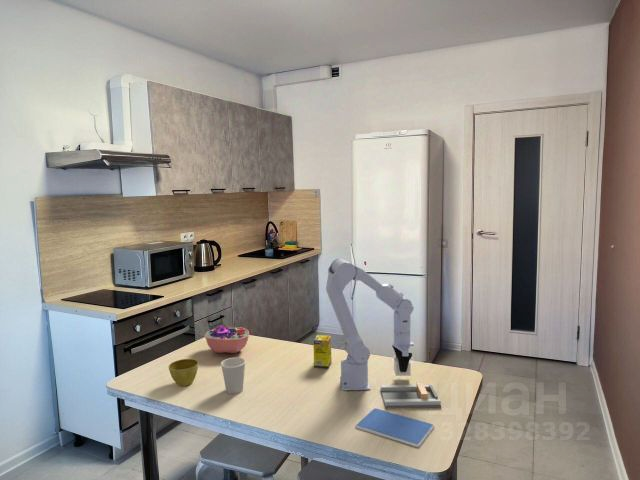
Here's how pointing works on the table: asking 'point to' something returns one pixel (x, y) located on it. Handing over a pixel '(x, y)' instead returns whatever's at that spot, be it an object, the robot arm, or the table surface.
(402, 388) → the rail mount
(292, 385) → the table surface
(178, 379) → the flower pot
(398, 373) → the block
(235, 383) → the dixie cup
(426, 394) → the block
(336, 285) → the robot arm
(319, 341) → the supplement box
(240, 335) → the cell model
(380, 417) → the tablet computer
